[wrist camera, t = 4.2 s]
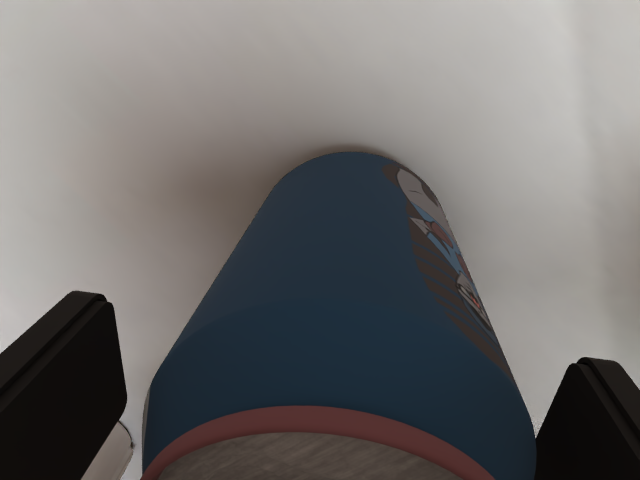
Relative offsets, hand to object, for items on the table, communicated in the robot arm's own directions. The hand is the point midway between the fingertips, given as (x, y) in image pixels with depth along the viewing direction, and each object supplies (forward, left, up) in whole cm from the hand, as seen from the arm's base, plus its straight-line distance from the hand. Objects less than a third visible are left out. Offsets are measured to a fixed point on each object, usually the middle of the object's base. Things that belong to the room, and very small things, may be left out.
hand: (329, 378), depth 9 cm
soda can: (0, 0, -9) cm, 9 cm away
